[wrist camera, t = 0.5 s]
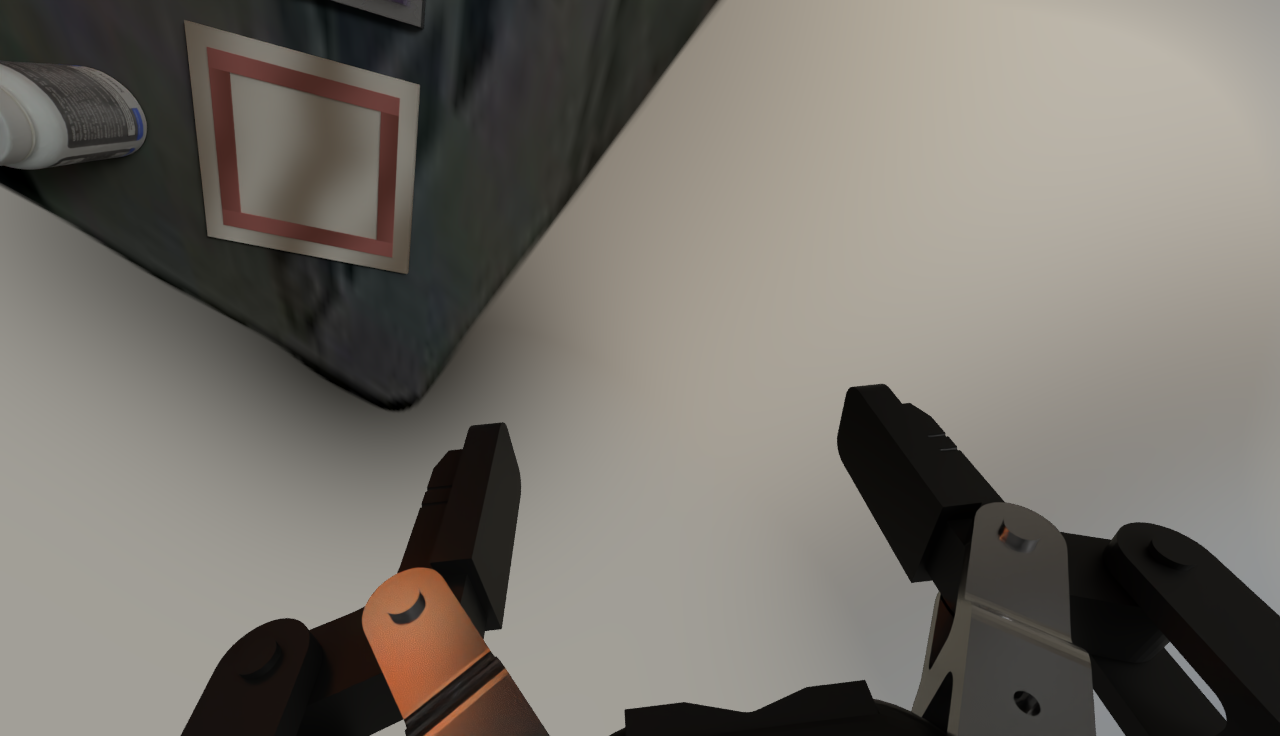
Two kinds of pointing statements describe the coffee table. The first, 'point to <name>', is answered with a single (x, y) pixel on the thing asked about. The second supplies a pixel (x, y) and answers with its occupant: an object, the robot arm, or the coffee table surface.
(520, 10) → the coffee table surface
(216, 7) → the coffee table surface
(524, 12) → the coffee table surface
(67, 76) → the pill bottle
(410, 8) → the ink pad
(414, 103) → the marked board
